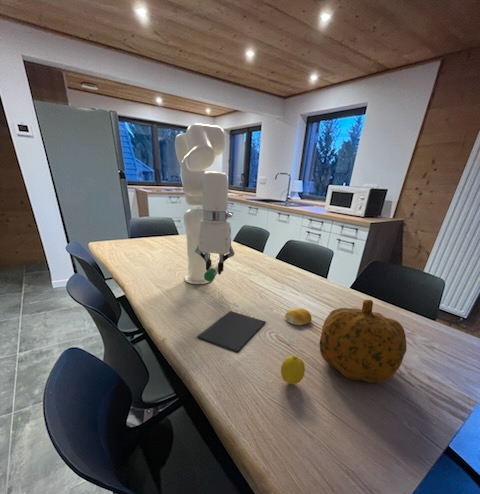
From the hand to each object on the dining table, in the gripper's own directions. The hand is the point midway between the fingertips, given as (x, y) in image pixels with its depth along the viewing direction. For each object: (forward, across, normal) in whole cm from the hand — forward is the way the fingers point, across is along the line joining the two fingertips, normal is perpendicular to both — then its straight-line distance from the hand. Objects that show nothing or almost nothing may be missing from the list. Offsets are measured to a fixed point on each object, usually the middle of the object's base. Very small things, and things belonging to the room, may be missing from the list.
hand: (214, 272), depth 89 cm
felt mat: (+15, -9, +11) cm, 21 cm away
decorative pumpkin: (+15, -43, +24) cm, 52 cm away
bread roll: (+15, -30, 0) cm, 34 cm away
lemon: (+15, -26, +33) cm, 44 cm away
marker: (0, 0, +1) cm, 1 cm away
